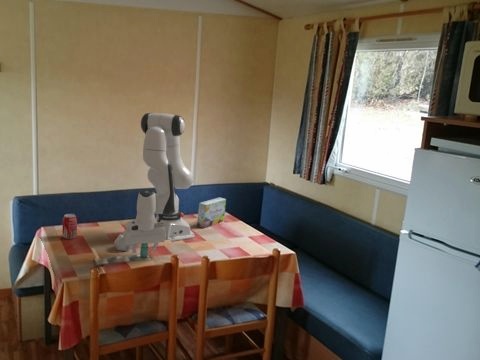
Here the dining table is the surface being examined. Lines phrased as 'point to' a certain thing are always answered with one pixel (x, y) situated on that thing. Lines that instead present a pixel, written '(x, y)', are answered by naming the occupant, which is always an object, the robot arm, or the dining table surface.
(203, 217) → the snack box
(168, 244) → the dining table surface
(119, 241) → the die
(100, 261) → the track
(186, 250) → the dining table surface
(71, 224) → the soda can
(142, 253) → the pawn
